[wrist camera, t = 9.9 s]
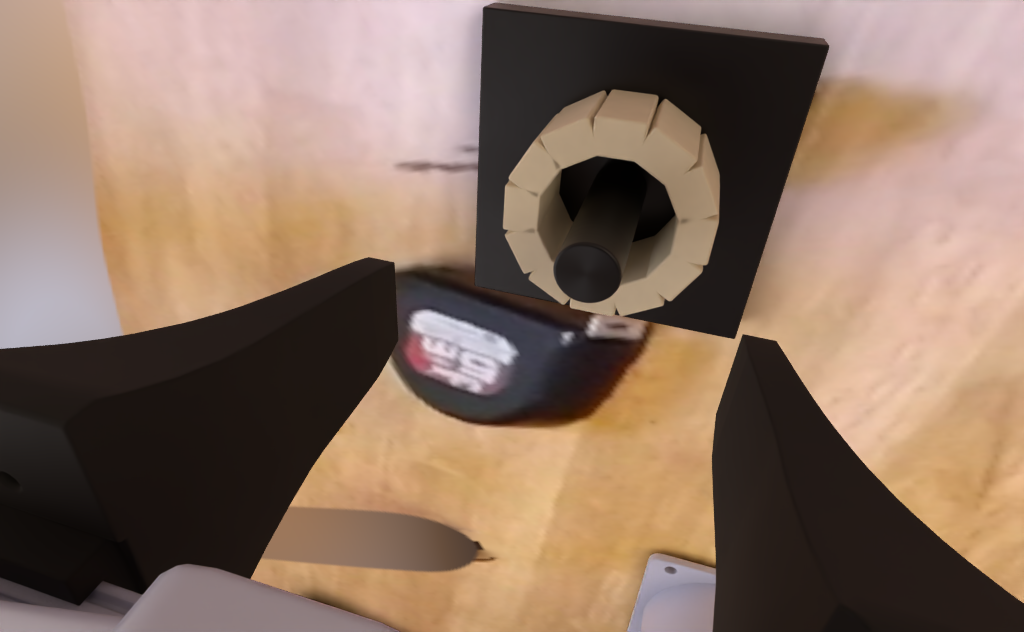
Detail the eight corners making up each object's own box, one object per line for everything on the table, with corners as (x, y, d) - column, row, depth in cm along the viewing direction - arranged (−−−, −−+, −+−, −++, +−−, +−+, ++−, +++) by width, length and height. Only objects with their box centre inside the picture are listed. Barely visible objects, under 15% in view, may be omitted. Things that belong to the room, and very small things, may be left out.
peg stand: (825, 38, 16) (871, 101, 11) (734, 323, 21) (736, 459, 16) (493, 2, 18) (397, 41, 13) (482, 273, 23) (411, 381, 18)
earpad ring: (740, 105, 17) (742, 136, 14) (693, 285, 20) (689, 333, 17) (537, 78, 18) (509, 103, 15) (523, 252, 21) (498, 294, 19)
